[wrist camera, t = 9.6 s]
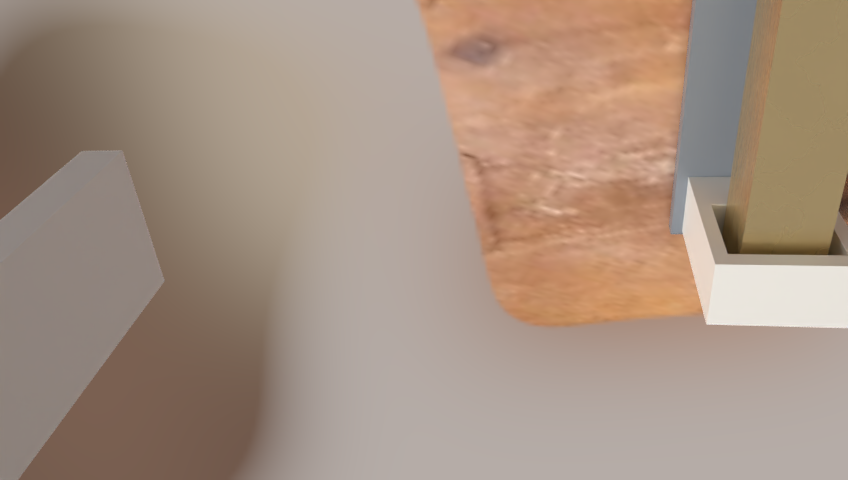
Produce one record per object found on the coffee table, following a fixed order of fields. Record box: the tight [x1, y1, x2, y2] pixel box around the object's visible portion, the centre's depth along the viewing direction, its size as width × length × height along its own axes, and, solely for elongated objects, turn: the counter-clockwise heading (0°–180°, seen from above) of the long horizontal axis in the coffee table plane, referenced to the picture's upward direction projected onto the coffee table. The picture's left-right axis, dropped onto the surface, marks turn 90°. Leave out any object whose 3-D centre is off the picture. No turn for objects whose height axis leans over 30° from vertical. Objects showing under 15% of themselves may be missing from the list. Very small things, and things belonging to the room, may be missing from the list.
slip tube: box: [722, 0, 848, 255], centre depth 39 cm, size 18×4×4 cm, turn 5°
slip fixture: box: [669, 0, 848, 328], centre depth 39 cm, size 26×9×11 cm, turn 5°
